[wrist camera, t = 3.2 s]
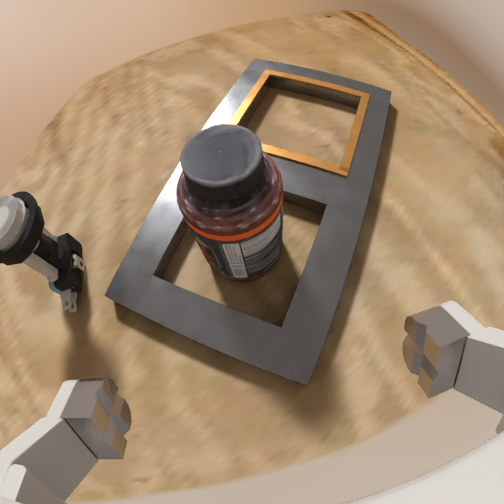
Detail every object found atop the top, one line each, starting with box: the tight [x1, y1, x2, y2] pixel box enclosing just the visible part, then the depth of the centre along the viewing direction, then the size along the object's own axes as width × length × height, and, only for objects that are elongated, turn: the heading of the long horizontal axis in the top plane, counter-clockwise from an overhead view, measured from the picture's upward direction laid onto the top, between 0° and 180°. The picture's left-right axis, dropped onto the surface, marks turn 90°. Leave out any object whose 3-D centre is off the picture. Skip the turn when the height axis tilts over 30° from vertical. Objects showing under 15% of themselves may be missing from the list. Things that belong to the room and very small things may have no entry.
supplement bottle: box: [176, 124, 283, 281], centre depth 20 cm, size 6×6×11 cm
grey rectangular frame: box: [105, 59, 391, 385], centre depth 27 cm, size 16×30×2 cm, turn 157°
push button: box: [0, 192, 85, 313], centre depth 21 cm, size 7×5×10 cm
